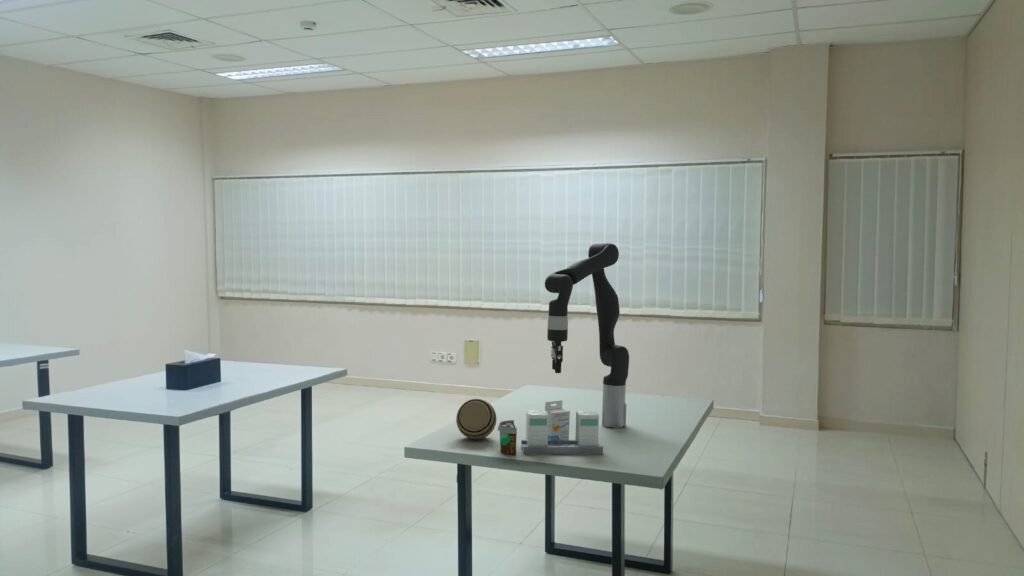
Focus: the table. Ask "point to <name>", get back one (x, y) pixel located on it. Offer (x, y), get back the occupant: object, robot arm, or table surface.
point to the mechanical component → (476, 419)
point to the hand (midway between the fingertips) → (556, 371)
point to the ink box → (557, 421)
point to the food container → (507, 437)
